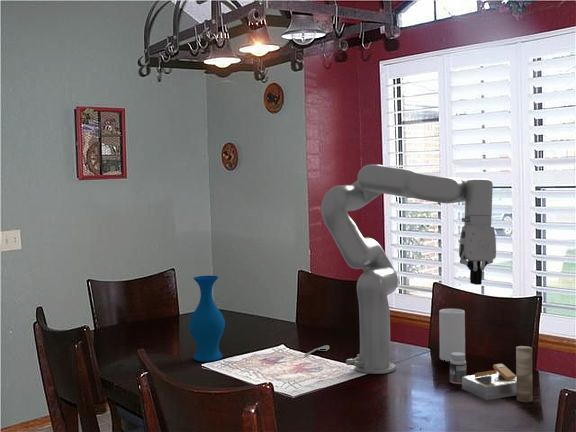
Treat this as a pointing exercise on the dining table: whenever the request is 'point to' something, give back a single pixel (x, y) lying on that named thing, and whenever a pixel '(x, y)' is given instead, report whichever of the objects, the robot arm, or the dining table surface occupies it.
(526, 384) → the dowel post
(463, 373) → the pill bottle
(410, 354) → the dining table surface
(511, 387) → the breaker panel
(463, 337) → the white tall cylinder
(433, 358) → the dining table surface
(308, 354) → the spoon
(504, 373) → the paddle
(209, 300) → the vase
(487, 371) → the paddle
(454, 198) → the robot arm
